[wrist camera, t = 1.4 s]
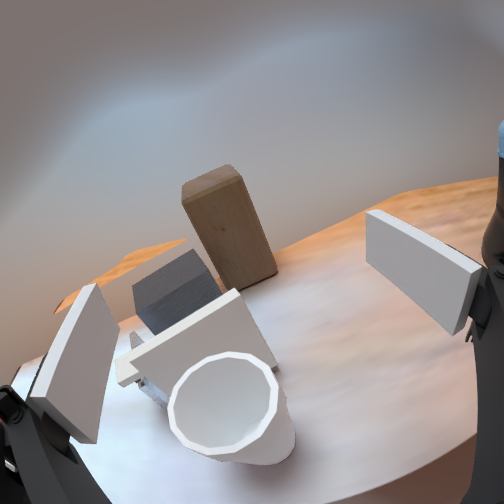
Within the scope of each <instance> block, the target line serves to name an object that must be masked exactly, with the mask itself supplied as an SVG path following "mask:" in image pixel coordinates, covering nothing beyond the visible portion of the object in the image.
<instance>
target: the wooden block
mask: <svg viewBox="0 0 504 504" xmlns="http://www.w3.org/2000/svg"><path fill="white" fill-rule="evenodd" d="M182 205H183V207H184V209H185V211H186V213H187V215H188V217H189V219H190V221H191V223H192V225H193V227H194V229H195V230H196V232H197V234H198V236H199V238H200V240H201V242H202V244H203V246H204V247H205V250H206V251H207V253H208V255H209V257H210V259H211V261H212V262H213V265H214V266H215V268H216V270H217V272H218V274H219V275H220V277H221V279H222V281H223V283H224V285H225V287H226V288H227V290H229V291H230V290H231V289H233V288H235V289H236V290H237V291H238V290H240V289H242V288H244V287H247V286H249V285H251V284H253V283H256V282H258V281H260V280H262V279H265V278H267V277H269V276H271V275H273V274H275V273H276V272H277V265H276V263H275V260H274V258H273V255H272V252H271V250H270V247H269V244H268V242H267V239H266V237H265V234H264V232H263V229H262V226H261V224H260V221H259V219H258V216H257V214H256V211H255V209H254V206H253V203H252V201H251V199H250V196H249V194H248V191H247V188H246V186H245V183H244V181H243V178H242V176H241V175H240V174H239V173H238V172H237V171H236V170H235V169H234V168H233V167H232V166H231V165H224V166H222V167H219V168H217V169H215V170H213V171H210V172H209V173H206V174H204V175H202V176H199V177H197V178H195V179H193V180H191V181H188V182H187V183H185V184H184V185H183V186H182Z"/></svg>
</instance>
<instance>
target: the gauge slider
mask: <svg viewBox="0 0 504 504" xmlns="http://www.w3.org/2000/svg"><path fill="white" fill-rule="evenodd" d="M228 351H231V352H239V353H247V354H252V355H253V356H255V357H256V358H258V359H259V360H261V361H262V362H264V363H265V364H267V365H269V367H270V369H272V368H273V367H275V366H276V365H278V363H277V361H276V359H275V358H274V356H273V354H272V352H271V350H270V349H269V347H268V345H267V343H266V341H265V339H264V338H263V336H262V334H261V332H260V330H259V328H258V327H257V325H256V323H255V321H254V319H253V317H252V315H251V314H250V312H249V310H248V308H247V306H246V304H245V302H244V300H243V299H242V297H241V295H240V294H239V292H238V291H237V290H236V289H235V288H233V289H231V290H230V291H228V292H227V293H225V294H223V295H222V296H220V297H218V298H217V299H215V300H214V301H212V302H210V303H209V304H207V305H206V306H204V307H202V308H201V309H199V310H197V311H196V312H194V313H193V314H191V315H189V316H188V317H186V318H184V319H183V320H181V321H179V322H178V323H176V324H174V325H173V326H171V327H169V328H168V329H166V330H164V331H163V332H161V333H159V334H158V335H156V336H154V337H153V338H151V339H149V340H148V341H146V342H144V343H143V344H141V345H139V346H138V347H136V348H134V349H133V350H131V351H129V352H128V353H126V354H124V355H123V356H121V357H119V358H117V359H116V360H115V365H116V374H117V383H118V384H119V385H120V386H122V387H123V388H124V387H126V386H127V385H129V384H131V383H133V382H136V383H138V382H140V381H141V378H142V377H144V376H145V377H146V378H147V379H148V380H149V381H151V382H152V383H153V384H154V385H155V386H157V387H158V388H159V389H160V390H161V391H163V392H164V393H165V394H166V395H168V396H169V397H171V394H172V391H173V387H174V386H175V385H176V384H177V382H178V381H179V380H180V378H181V377H182V376H183V375H184V373H185V372H186V371H187V370H188V369H189V368H191V367H192V366H194V365H195V364H197V363H198V362H200V361H201V360H203V359H204V358H206V357H209V356H213V355H217V354H220V353H224V352H228Z"/></svg>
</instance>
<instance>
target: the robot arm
mask: <svg viewBox="0 0 504 504" xmlns="http://www.w3.org/2000/svg"><path fill="white" fill-rule="evenodd" d="M498 132H499V133H498V135H499V142H498V144H499V145H498V149H497V152H498V155H499V176H498V192H497V204H496V210H495V212H494V214H493V216H492V219H491V221H490V223H489V225H488V227H487V229H486V231H485V233H484V237H483V242H482V256H483V259H484V261H485V263H486V265H487V266H488V268H489V269H487V268H486V267H484V266H483V265H481V264H479V263H478V262H476V261H475V260H473V259H471V258H470V257H468V256H466V255H463V253H461V252H460V251H457V250H456V249H455V248H453V247H451V246H449V245H447V244H444V243H442V242H441V241H439V240H437V239H435V238H433V237H432V236H430V235H428V234H426V233H424V232H422V231H420V230H419V229H417V228H415V227H413V226H411V225H409V224H407V223H405V222H403V221H401V220H399V219H397V218H395V217H393V216H391V215H389V214H387V213H385V212H383V211H381V210H379V209H376V210H372V211H367V212H366V262H367V263H369V264H370V265H371V266H372V267H374V268H375V269H376V270H377V271H379V272H380V273H381V274H382V275H383V276H385V277H386V278H387V279H388V280H389V281H391V282H392V283H393V284H394V285H395V286H397V287H398V288H399V289H400V290H401V291H402V292H404V293H405V294H406V295H407V296H408V297H409V298H411V299H412V300H413V301H414V302H415V303H416V304H417V305H419V306H420V307H421V308H422V309H423V310H424V311H425V312H426V313H428V314H429V315H430V316H431V317H432V318H433V319H434V320H435V321H436V322H437V323H439V324H440V325H441V326H442V327H443V328H444V329H445V330H446V331H447V332H448V333H449V334H450V335H451V336H453V335H455V334H456V333H458V332H459V331H460V330H462V329H463V328H464V326H465V323H466V321H467V318H468V315H469V316H470V317H471V318H472V319H473V320H472V323H471V326H470V328H469V331H468V334H467V336H466V340H465V342H468V340H469V337H470V335H472V340H471V342H473V345H474V353H475V362H476V373H477V392H478V424H477V442H476V453H475V461H474V468H473V474H472V480H471V485H470V488H469V490H468V492H467V493H466V495H465V496H464V497H463V499H462V501H461V503H460V504H504V121H503V122H502V123H501V125H500V126H499V131H498ZM119 331H120V327H119V326H118V324H117V322H116V320H115V318H114V317H113V315H112V313H111V311H110V309H109V307H108V305H107V303H106V301H105V299H104V298H103V295H102V293H101V291H100V289H99V287H98V285H97V283H94V284H90V285H87V286H84V287H83V288H82V290H81V292H80V293H79V295H78V297H77V298H76V300H75V302H74V304H73V305H72V307H71V309H70V311H69V313H68V315H67V316H66V318H65V320H64V322H63V324H62V326H61V328H60V330H59V332H58V334H57V336H56V338H55V340H54V342H53V344H52V346H51V348H50V350H49V351H48V352H47V354H46V355H45V356H44V357H43V359H42V362H41V364H40V366H39V369H38V371H37V373H36V376H35V378H34V380H33V382H32V385H31V387H30V390H29V392H28V395H27V398H26V400H25V401H24V400H23V399H22V398H21V397H20V396H19V395H18V394H17V393H16V392H15V391H14V389H13V388H12V387H11V386H9V385H3V386H1V387H0V419H1V420H2V421H0V504H112V503H111V501H110V500H109V499H108V498H107V496H106V495H105V494H104V492H103V491H102V489H101V488H100V487H99V485H98V484H97V482H96V481H95V479H94V478H93V476H92V475H91V473H90V472H89V470H88V469H87V467H86V466H85V464H84V462H83V461H82V459H81V457H80V456H79V454H78V452H77V451H76V449H75V447H74V446H73V445H72V444H71V443H70V442H69V439H70V435H71V436H72V437H73V438H74V439H76V440H77V441H78V442H79V443H83V444H97V436H98V429H99V423H100V417H101V411H102V405H103V400H104V395H105V390H106V385H107V380H108V376H109V371H110V367H111V362H112V358H113V354H114V350H115V346H116V343H117V339H118V335H119ZM5 460H6V461H7V462H9V463H10V464H12V465H13V466H14V467H15V472H13V471H11V470H10V469H9V468H7V467H6V466H5Z"/></svg>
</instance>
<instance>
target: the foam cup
mask: <svg viewBox="0 0 504 504" xmlns="http://www.w3.org/2000/svg"><path fill="white" fill-rule="evenodd" d="M167 410H168V417H169V423H170V429H171V430H172V432H173V433H174V434H175V436H176V437H177V438H178V439H179V441H180V442H181V443H182V444H183V445H184V446H185V447H187V448H189V449H191V450H193V451H195V452H197V453H199V454H202V455H204V456H207V457H210V458H212V459H215V460H218V461H221V462H224V461H233V462H240V463H247V464H254V465H263V466H264V465H265V466H266V465H272V464H277V463H279V462H281V461H282V460H284V459H285V458H287V457H288V456H289V455H290V453H291V452H292V450H293V448H294V447H295V436H296V435H295V432H294V428H293V425H292V422H291V419H290V416H289V413H288V410H287V406H286V396H285V394H284V392H283V390H282V388H281V386H280V384H279V382H278V380H277V378H276V377H275V375H274V373H273V372H272V370H271V369H270V367H269V365H267V364H265V363H264V362H262V361H261V360H259V359H258V358H256V357H255V356H253V355H252V354H247V353H239V352H231V351H228V352H224V353H220V354H217V355H213V356H209V357H206V358H204V359H203V360H201V361H200V362H198V363H197V364H195V365H194V366H192V367H191V368H189V369H188V370H187V371H186V372H185V373H184V375H183V376H182V377H181V378H180V380H179V381H178V382H177V384H176V385H175V386H174V387H173V391H172V394H171V397H170V400H169V404H168V407H167Z"/></svg>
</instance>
